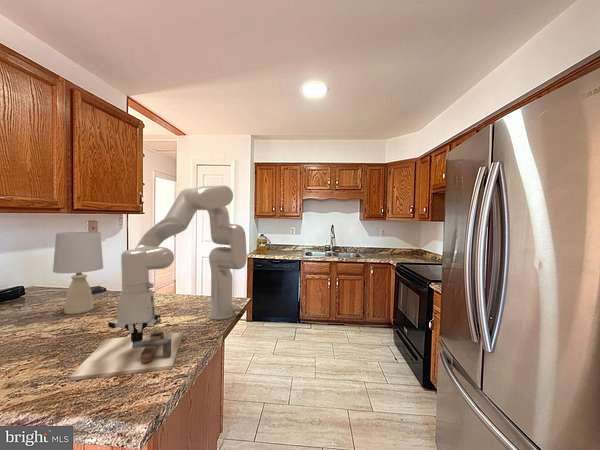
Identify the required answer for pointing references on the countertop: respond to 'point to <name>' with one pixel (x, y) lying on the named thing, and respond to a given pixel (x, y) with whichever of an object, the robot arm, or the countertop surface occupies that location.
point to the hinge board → (129, 356)
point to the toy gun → (115, 323)
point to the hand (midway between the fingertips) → (137, 343)
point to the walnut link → (151, 348)
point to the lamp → (78, 266)
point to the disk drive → (97, 289)
